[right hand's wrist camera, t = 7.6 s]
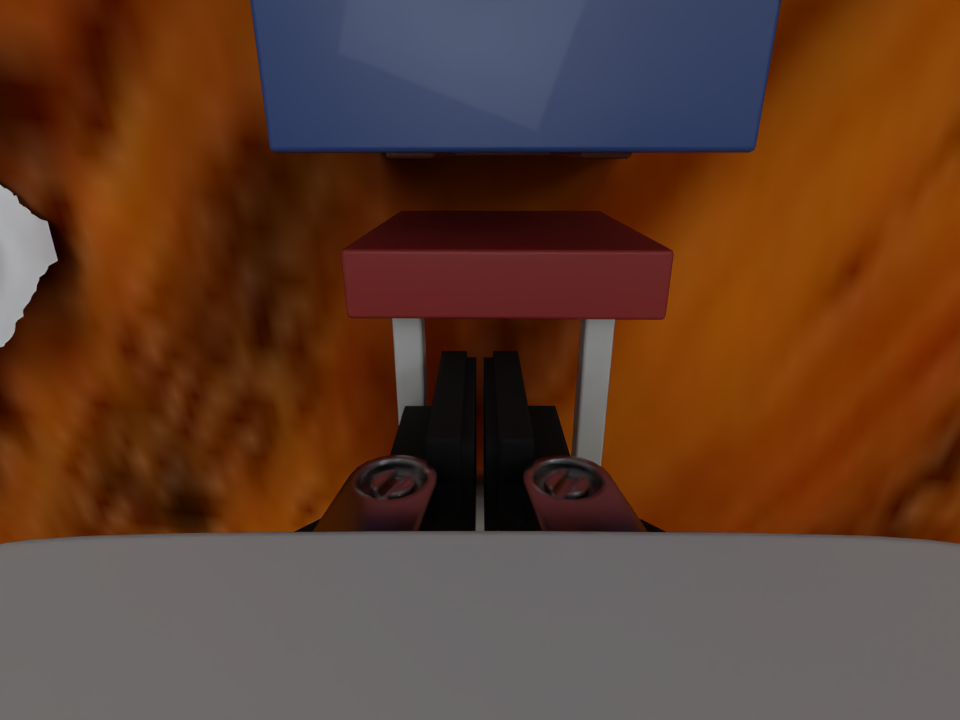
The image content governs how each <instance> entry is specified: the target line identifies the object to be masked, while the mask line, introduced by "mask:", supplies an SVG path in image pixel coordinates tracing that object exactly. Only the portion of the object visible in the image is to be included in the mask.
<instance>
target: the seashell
mask: <svg viewBox="0 0 960 720" xmlns="http://www.w3.org/2000/svg"><path fill="white" fill-rule="evenodd" d="M57 261H58V259H57V255H56V252H55V248H54V245H53V241H52V237H51V233H50V229H49V225H48V221H45V220H42V219H39V218H38V217H37V216H35V215H33V214H31V212H30V210H28V209H27V208H26V207H24V206H22V205H21V204H19V201H18V198H17V196H13V193H12V192H11V191H9V190H8V189H6V188H3V187H2V186H1V185H0V347H3V346H4V345H5V343H6V342H7V341H9V340H10V338H11V337H12V336H13V334H14V332H15V323H16V322H17V321H18V320H19V319H20V318H22V317H23V309H24V308H25V306H26V305H27V304H28V303H29V302H30V300H31V297H32V295H33V294H34V292H35V291H36V290H37V284H38V282H39V277H40V276H42V275H44V274H45V273H46V271H47V269H48V266H49V265H51V264H53V263H55V262H57Z"/></svg>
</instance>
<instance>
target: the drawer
mask: <svg viewBox="0 0 960 720" xmlns="http://www.w3.org/2000/svg"><path fill="white" fill-rule="evenodd" d="M386 156H387V158H390V159H432V158H442V157H451V156H553V157H569V158H584V159H627V158H629V157H630V156H631V153H386ZM673 255H674V254H673V251H672V250H670V249H669V248H667V247H665V246H663V245H661V244H659V243H657V242H656V241H654V240H652V239H650V238H648V237H646V236H644V235H643V234H641V233H639V232H637V231H635V230H633V229H632V228H630V227H628V226H626V225H624V224H622V223H620V222H619V221H617V220H615V219H613V218H611V217H609V216H607V215H606V214H604V213H602V212H600V211H401V212H399V213H398V214H396V215H395V216H393V217H392V218H390V219H389V220H387V221H385V222H384V223H382V224H381V225H379V226H378V227H376V228H375V229H373V230H372V231H370V232H369V233H367V234H366V235H364V236H363V237H361V238H360V239H358V240H357V241H355V242H354V243H352V244H351V245H349V246H348V247H346V248H345V249H343V250H342V263H343V274H344V285H345V295H346V306H347V315H348V317H350V318H392V323H393V339H394V355H395V371H396V387H397V403H398V419H399V424H400V421H401V417H402V414H403V410H404V408H405V406H428V394H427V369H426V343H425V318H426V319H581V327H580V341H579V355H578V369H577V383H576V397H575V411H574V425H573V439H572V453H571V456H576V457H581V458H584V459H587V460H590V461H593V462H594V463H596V464H598V465H599V466H601V461H602V451H603V440H604V430H605V419H606V409H607V398H608V388H609V377H610V367H611V356H612V346H613V335H614V325H615V319H628V320H661V319H664V318H665V316H666V308H667V301H668V293H669V285H670V278H671V270H672V262H673ZM476 531H484V471H476Z"/></svg>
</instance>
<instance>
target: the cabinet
mask: <svg viewBox="0 0 960 720" xmlns="http://www.w3.org/2000/svg"><path fill="white" fill-rule="evenodd" d="M250 2H251V10H252V17H253V25H254V32H255V40H256V47H257V55H258V62H259V70H260V77H261V85H262V92H263V100H264V108H265V115H266V123H267V130H268V138H269V145H270V148H271V150H272V151H273V152H276V153H642V152H643V153H644V152H751V151H753V150H754V149H755V147H756V142H757V136H758V130H759V124H760V118H761V113H762V107H763V101H764V95H765V90H766V84H767V78H768V72H769V67H770V61H771V55H772V49H773V44H774V38H775V32H776V26H777V20H778V15H779V9H780V3H781V0H250Z"/></svg>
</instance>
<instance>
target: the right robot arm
mask: <svg viewBox="0 0 960 720" xmlns="http://www.w3.org/2000/svg"><path fill="white" fill-rule="evenodd" d="M0 720H960V544H958V543H950V542H942V541H933V540H925V539H911V538H895V537H878V536H856V535H819V534H781V533H701V532H665V531H663V530H661V529H659V528H657V527H655V526H653V525H651V524H649V523H647V522H645V521H643V520H641V519H639V518H638V516H637V515H636V513H635V512H634V510H633V509H632V507H631V506H630V504H629V503H628V501H627V500H626V498H625V497H624V495H623V494H622V492H621V491H620V489H619V488H618V486H617V485H616V483H615V482H614V480H613V479H612V477H611V476H610V475H609V473H608V472H607V471H606V470H605V469H604V468H603V467H601V466H599V465H598V464H596V463H594V462H593V461H590V460H587V459H584V458H581V457H576V456H570V454H569V451H568V448H567V444H566V441H565V438H564V434H563V431H562V427H561V424H560V421H559V417H558V414H557V410H556V408H555V406H528V404H527V399H526V393H525V388H524V383H523V377H522V372H521V367H520V361H519V356H518V351H493V358H484V531H476V358H467V351H442V356H441V361H440V367H439V372H438V377H437V383H436V388H435V393H434V398H433V404H432V406H405V408H404V410H403V414H402V417H401V421H400V424H399V427H398V431H397V434H396V437H395V441H394V444H393V448H392V451H391V454H390V456H384V457H379V458H376V459H373V460H370V461H367V462H366V463H364V464H362V465H361V466H359V467H357V468H356V469H355V470H354V471H353V472H352V473H351V475H350V476H349V477H348V479H347V480H346V482H345V483H344V485H343V486H342V488H341V489H340V491H339V492H338V494H337V495H336V497H335V498H334V500H333V501H332V503H331V504H330V506H329V507H328V509H327V510H326V512H325V513H324V515H323V516H322V518H321V519H319V520H317V521H315V522H313V523H311V524H309V525H307V526H305V527H303V528H301V529H299V530H297V531H295V532H262V533H172V534H140V535H107V536H79V537H65V538H51V539H36V540H26V541H18V542H11V543H3V544H0Z"/></svg>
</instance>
